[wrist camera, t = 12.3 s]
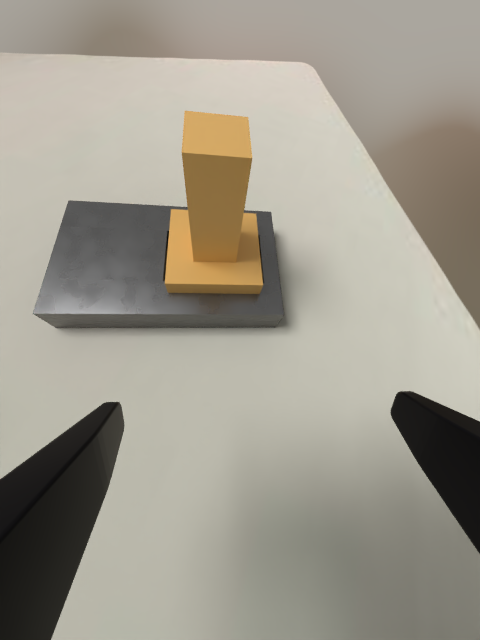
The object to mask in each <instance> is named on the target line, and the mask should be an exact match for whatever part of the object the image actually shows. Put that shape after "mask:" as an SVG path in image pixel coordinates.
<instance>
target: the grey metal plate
mask: <svg viewBox="0 0 480 640" xmlns="http://www.w3.org/2000/svg"><path fill="white" fill-rule="evenodd" d="M171 209H179V210H188V207H175V206H157V205H139V204H122V203H104V202H86V201H68V204H67V207H66V210H65V213H64V217H63V220H62V223H61V226H60V229H59V232H58V236H57V239H56V242H55V245H54V248H53V251H52V254H51V258H50V261H49V264H48V267H47V270H46V273H45V277H44V280H43V283H42V286H41V289H40V292H39V296H38V299H37V302H36V305H35V308H34V311H33V314H34V315H36V316H38V317H39V318H41V319H42V320H44V321H46V322H47V323H49V324H50V325H52V326H54V327H55V328H142V327H276V326H277V324H278V323H279V321H280V320H281V318H282V317H283V316H284V311H283V303H282V295H281V287H280V279H279V271H278V263H277V255H276V248H275V240H274V232H273V224H272V216H271V212H263V211H245V210H244V213H254V214H256V217H257V228H258V238H259V248H260V259H261V269H262V279H263V287H262V289H261V292H260V294H223V293H168V292H167V289H166V286H165V274H166V263H167V251H168V239H169V228H170V216H171Z"/></svg>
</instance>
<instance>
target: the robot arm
mask: <svg viewBox="0 0 480 640" xmlns="http://www.w3.org/2000/svg"><path fill="white" fill-rule="evenodd" d="M391 416H392V419H393V421H394V422H395V424H396V426H397V428H398V429H399V431H400V433H401V435H402V436H403V438H404V440H405V442H406V443H407V445H408V447H409V449H410V450H411V452H412V454H413V456H414V457H415V459H416V461H417V462H418V464H419V465H420V467H421V468H422V470H423V471H424V473H425V474H426V476H427V477H428V479H429V480H430V482H431V483H432V485H433V486H434V488H435V489H436V490H437V492H438V493H439V495H440V496H441V498H442V499H443V501H444V502H445V504H446V505H447V507H448V508H449V510H450V511H451V512H452V514H453V515H454V517H455V518H456V520H457V521H458V523H459V524H460V526H461V527H462V529H463V530H464V532H465V533H466V534H467V536H468V537H469V539H470V540H471V542H472V543H473V545H474V546H475V548H476V549H477V551H478V552H479V554H480V422H479V421H477V420H475V419H473V418H470V417H468V416H466V415H464V414H461V413H459V412H457V411H455V410H452V409H450V408H448V407H446V406H443V405H441V404H439V403H437V402H434V401H432V400H430V399H428V398H425V397H423V396H421V395H419V394H416V393H414V392H411V391H401V392H398V393H397V394H396V397H395V400H394V402H393V405H392V408H391ZM123 432H124V419H123V413H122V407H121V404H120V403H119V402H106V403H103V404H102V405H101V406H99V407H98V408H96V409H95V410H94V411H92V412H91V413H90V414H88V415H87V416H86V417H84V418H83V419H82V420H80V421H79V422H77V423H76V424H75V425H73V426H72V427H71V428H69V429H68V430H67V431H65V432H64V433H63V434H61V435H60V436H58V437H57V438H56V439H54V440H53V441H52V442H50V443H49V444H48V445H46V446H45V447H44V448H42V449H41V450H39V451H38V452H37V453H35V454H34V455H33V456H31V457H30V458H29V459H27V460H26V461H25V462H23V463H22V464H20V465H19V466H18V467H16V468H15V469H14V470H12V471H11V472H10V473H8V474H7V475H6V476H4V477H3V478H1V479H0V640H51V638H52V635H53V633H54V630H55V628H56V625H57V622H58V620H59V617H60V614H61V612H62V609H63V606H64V604H65V601H66V598H67V596H68V593H69V590H70V588H71V585H72V583H73V580H74V577H75V575H76V572H77V569H78V567H79V564H80V561H81V559H82V556H83V553H84V551H85V548H86V546H87V543H88V540H89V538H90V535H91V532H92V530H93V527H94V524H95V522H96V519H97V516H98V514H99V511H100V509H101V506H102V503H103V501H104V498H105V495H106V492H107V490H108V487H109V484H110V480H111V477H112V473H113V469H114V465H115V462H116V458H117V454H118V450H119V447H120V443H121V439H122V435H123Z"/></svg>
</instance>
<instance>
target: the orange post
mask: <svg viewBox="0 0 480 640" xmlns="http://www.w3.org/2000/svg"><path fill="white" fill-rule="evenodd" d="M182 159H183V168H184V177H185V187H186V196H187V206H188V210H179V209H171V216H170V228H169V239H168V251H167V263H166V274H165V286H166V289H167V292H168V293H223V294H260V292H261V289H262V287H263V279H262V269H261V259H260V248H259V238H258V228H257V217H256V214H254V213H244V208H245V201H246V195H247V188H248V182H249V175H250V169H251V163H252V151H251V141H250V131H249V121H248V117H241V116H231V115H222V114H212V113H202V112H192V111H185V115H184V129H183V143H182Z"/></svg>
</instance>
